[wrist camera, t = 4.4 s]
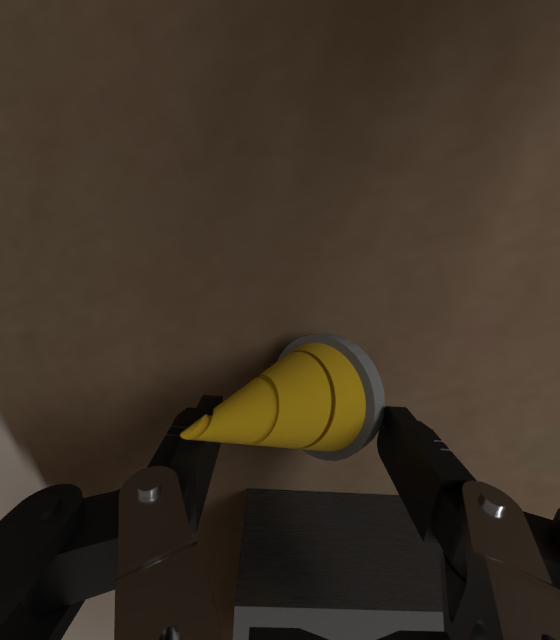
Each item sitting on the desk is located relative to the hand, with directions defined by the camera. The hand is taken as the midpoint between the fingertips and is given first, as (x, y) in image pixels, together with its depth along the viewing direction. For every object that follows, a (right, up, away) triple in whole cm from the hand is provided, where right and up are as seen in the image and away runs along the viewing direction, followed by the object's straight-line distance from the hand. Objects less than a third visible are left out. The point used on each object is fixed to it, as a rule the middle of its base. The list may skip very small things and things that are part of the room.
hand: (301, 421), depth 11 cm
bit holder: (+3, -13, +7) cm, 15 cm away
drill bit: (0, +1, +4) cm, 4 cm away
